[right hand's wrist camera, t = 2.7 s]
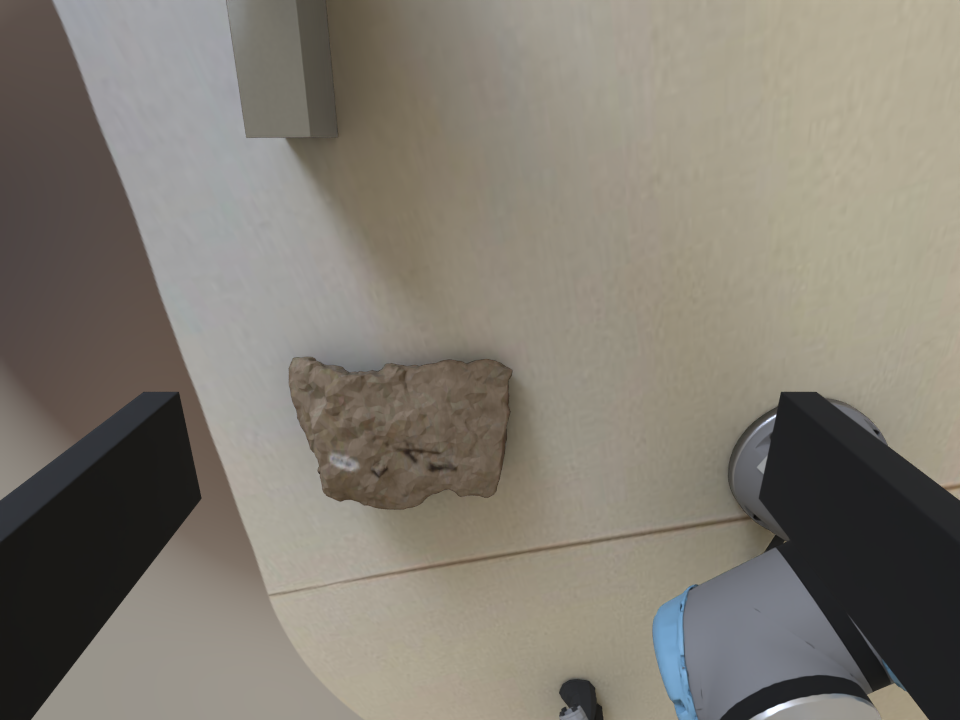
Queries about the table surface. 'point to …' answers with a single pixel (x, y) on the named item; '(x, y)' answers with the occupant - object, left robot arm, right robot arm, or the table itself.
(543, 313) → the table surface
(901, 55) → the table surface
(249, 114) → the bar
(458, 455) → the stone
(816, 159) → the table surface
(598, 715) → the robot
